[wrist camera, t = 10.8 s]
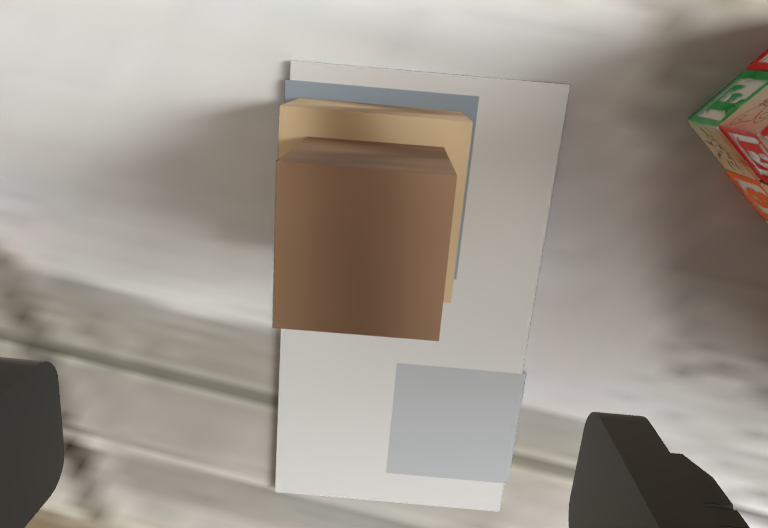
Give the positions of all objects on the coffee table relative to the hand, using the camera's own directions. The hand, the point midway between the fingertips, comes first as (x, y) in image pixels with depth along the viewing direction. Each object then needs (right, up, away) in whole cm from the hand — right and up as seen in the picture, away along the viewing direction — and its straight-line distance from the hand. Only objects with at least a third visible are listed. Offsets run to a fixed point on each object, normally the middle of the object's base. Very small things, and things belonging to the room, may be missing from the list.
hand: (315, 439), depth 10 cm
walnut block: (+1, +5, +14) cm, 15 cm away
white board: (+2, +1, +21) cm, 21 cm away
